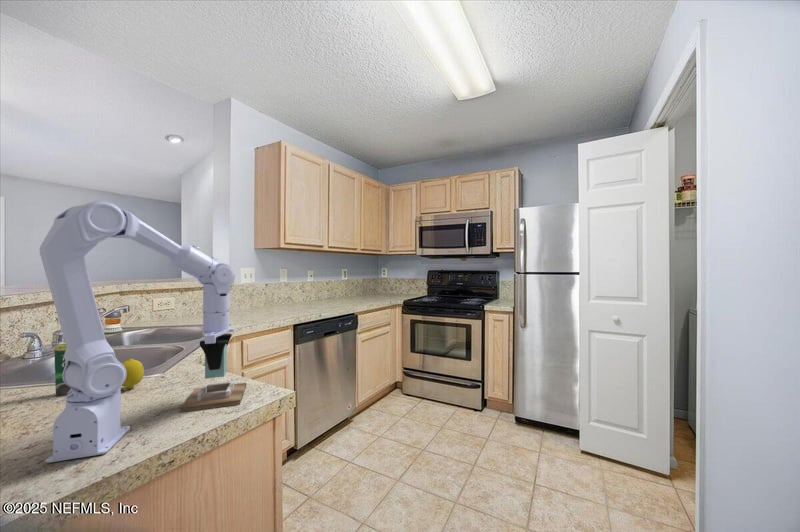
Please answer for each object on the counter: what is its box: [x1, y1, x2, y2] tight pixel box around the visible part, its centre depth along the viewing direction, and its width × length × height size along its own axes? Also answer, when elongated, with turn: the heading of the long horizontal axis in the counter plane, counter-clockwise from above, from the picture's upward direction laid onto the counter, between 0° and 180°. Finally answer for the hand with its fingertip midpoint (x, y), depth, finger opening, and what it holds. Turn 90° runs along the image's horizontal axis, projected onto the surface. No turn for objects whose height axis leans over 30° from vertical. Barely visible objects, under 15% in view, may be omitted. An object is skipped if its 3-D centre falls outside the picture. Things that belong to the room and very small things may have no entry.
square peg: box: [204, 344, 228, 379], centre depth 78 cm, size 4×4×7 cm
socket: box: [179, 381, 247, 413], centre depth 78 cm, size 12×12×2 cm
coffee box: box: [53, 342, 71, 397], centre depth 82 cm, size 8×3×13 cm, turn 120°
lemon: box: [121, 358, 145, 390], centre depth 84 cm, size 6×6×8 cm
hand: (216, 366), depth 78 cm, fingers closed on square peg, 4 cm apart
